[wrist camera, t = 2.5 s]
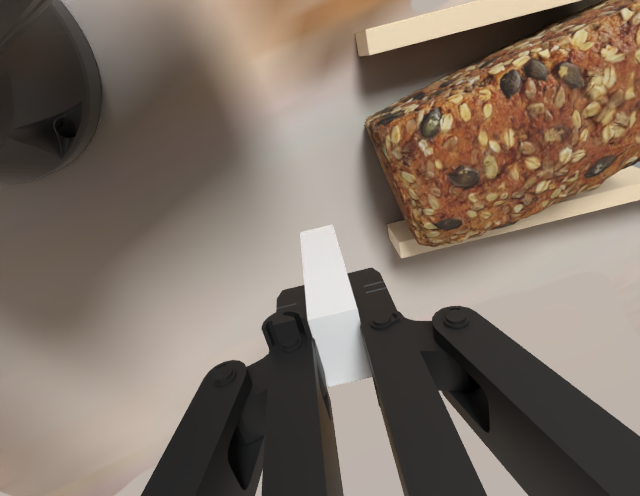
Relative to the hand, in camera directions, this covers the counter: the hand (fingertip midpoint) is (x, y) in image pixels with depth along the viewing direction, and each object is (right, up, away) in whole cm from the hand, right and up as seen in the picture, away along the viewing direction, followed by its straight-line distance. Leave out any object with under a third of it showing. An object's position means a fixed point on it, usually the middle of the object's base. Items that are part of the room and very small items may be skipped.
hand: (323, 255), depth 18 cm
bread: (+13, +11, +15) cm, 22 cm away
